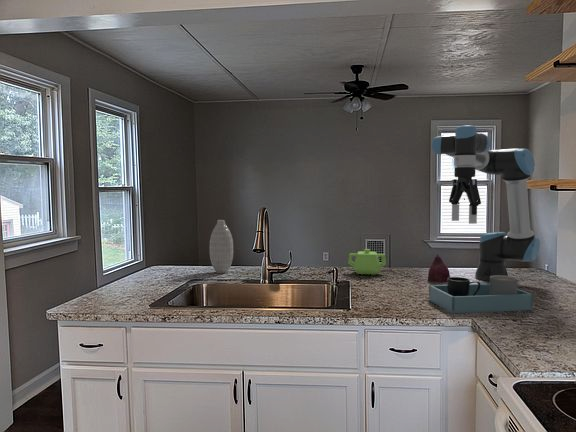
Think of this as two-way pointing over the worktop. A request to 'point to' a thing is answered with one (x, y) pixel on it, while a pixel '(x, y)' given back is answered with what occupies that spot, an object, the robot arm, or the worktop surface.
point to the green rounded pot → (367, 262)
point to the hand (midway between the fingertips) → (463, 222)
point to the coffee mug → (503, 285)
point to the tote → (480, 300)
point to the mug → (460, 286)
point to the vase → (221, 247)
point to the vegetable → (438, 271)
